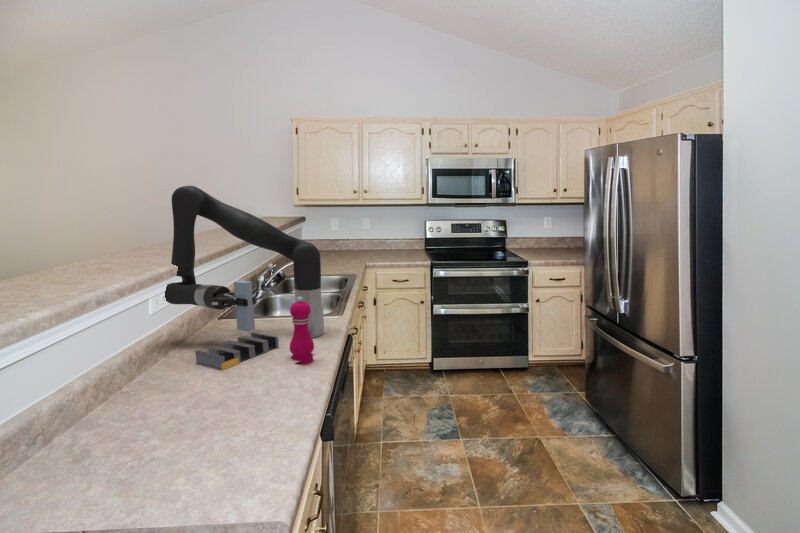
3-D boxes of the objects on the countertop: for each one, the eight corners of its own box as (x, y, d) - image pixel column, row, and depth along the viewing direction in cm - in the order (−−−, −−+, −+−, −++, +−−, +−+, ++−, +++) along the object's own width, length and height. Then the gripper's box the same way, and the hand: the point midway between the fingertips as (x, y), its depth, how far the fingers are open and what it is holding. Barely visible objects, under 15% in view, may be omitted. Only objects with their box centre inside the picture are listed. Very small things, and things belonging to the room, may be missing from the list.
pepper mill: (309, 366, 132) (306, 299, 130) (286, 364, 134) (283, 298, 131) (318, 357, 139) (315, 294, 137) (296, 356, 141) (293, 293, 138)
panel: (243, 327, 142) (240, 280, 140) (255, 329, 140) (251, 281, 137) (237, 329, 140) (233, 281, 137) (248, 331, 137) (245, 283, 135)
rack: (254, 346, 151) (253, 332, 150) (279, 351, 145) (279, 336, 144) (196, 368, 132) (195, 351, 131) (223, 375, 126) (222, 358, 125)
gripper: (192, 289, 139) (231, 294, 130) (229, 281, 151) (267, 285, 142) (194, 313, 140) (233, 319, 131) (231, 303, 152) (268, 308, 143)
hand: (250, 301), depth 137 cm, fingers closed on panel, 2 cm apart
